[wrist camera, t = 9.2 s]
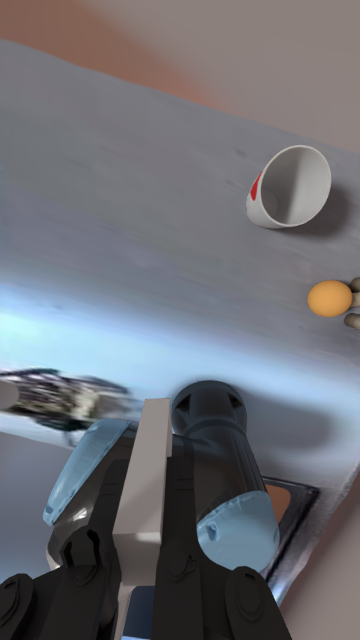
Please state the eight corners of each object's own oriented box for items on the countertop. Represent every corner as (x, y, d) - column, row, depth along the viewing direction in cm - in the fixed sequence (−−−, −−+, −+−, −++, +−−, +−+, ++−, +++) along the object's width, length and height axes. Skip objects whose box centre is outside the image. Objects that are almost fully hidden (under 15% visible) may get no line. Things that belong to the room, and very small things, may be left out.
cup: (264, 165, 32) (300, 126, 22) (298, 205, 34) (346, 184, 24) (225, 209, 34) (244, 190, 24) (260, 245, 35) (290, 241, 26)
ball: (341, 319, 31) (302, 321, 36) (363, 312, 33) (324, 314, 39) (334, 278, 31) (296, 286, 36) (357, 274, 33) (318, 282, 39)
